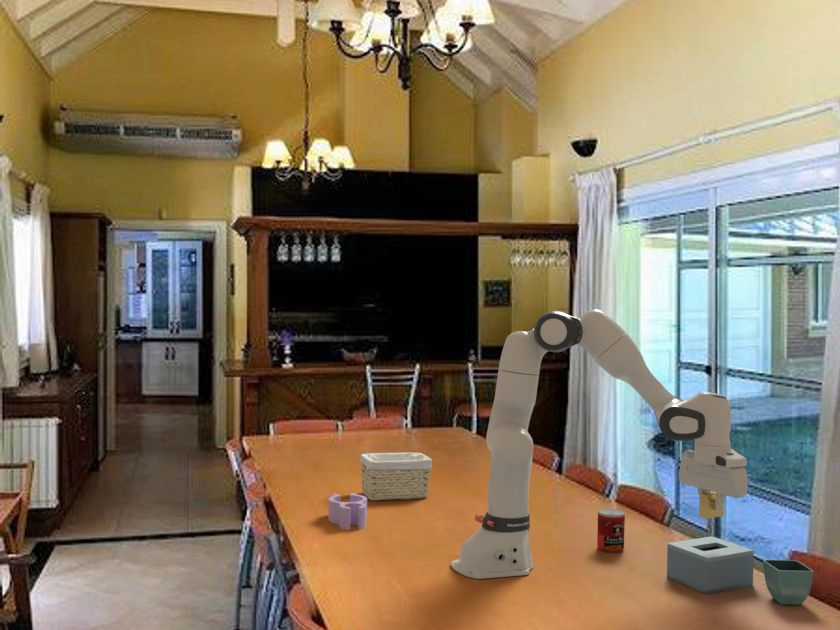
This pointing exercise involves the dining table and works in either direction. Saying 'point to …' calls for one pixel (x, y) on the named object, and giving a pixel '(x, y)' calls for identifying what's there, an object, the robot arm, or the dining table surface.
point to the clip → (348, 511)
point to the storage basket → (395, 475)
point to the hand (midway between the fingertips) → (711, 507)
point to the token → (709, 505)
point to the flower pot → (788, 580)
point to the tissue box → (710, 564)
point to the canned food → (611, 530)
